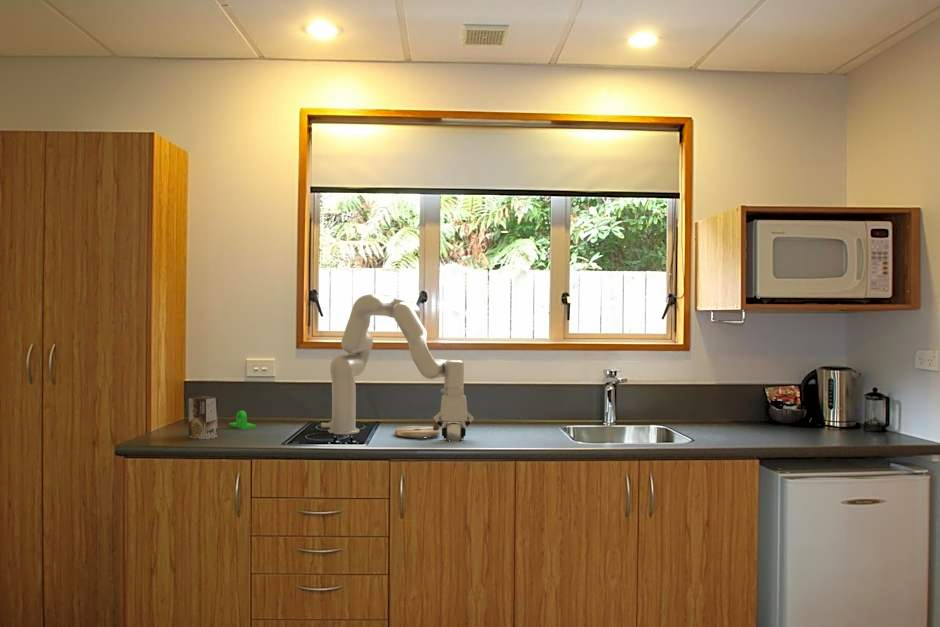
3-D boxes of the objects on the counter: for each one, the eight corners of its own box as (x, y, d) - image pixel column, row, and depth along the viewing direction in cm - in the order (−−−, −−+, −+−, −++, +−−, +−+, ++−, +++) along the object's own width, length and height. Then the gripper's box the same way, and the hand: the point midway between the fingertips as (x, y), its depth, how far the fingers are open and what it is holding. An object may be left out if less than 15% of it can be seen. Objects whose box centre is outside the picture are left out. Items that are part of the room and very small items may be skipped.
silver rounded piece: (445, 441, 273) (445, 424, 273) (445, 438, 280) (445, 421, 280) (461, 441, 273) (462, 424, 273) (461, 438, 280) (461, 421, 280)
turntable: (387, 431, 288) (387, 415, 288) (427, 428, 297) (427, 412, 297) (406, 438, 272) (406, 421, 272) (448, 434, 281) (448, 418, 281)
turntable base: (401, 438, 278) (401, 436, 278) (402, 433, 290) (402, 431, 290) (432, 438, 279) (432, 436, 279) (432, 433, 291) (432, 431, 291)
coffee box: (218, 438, 275) (218, 397, 275) (205, 441, 269) (206, 398, 269) (200, 437, 279) (201, 395, 279) (187, 439, 273) (188, 397, 273)
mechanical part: (255, 429, 298) (255, 410, 298) (242, 431, 294) (242, 411, 294) (242, 426, 307) (242, 407, 307) (229, 427, 303) (229, 408, 303)
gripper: (431, 392, 272) (431, 439, 272) (477, 392, 273) (476, 439, 273) (431, 390, 280) (431, 436, 280) (475, 390, 281) (475, 436, 281)
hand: (453, 437), depth 277 cm, fingers closed on silver rounded piece, 6 cm apart
